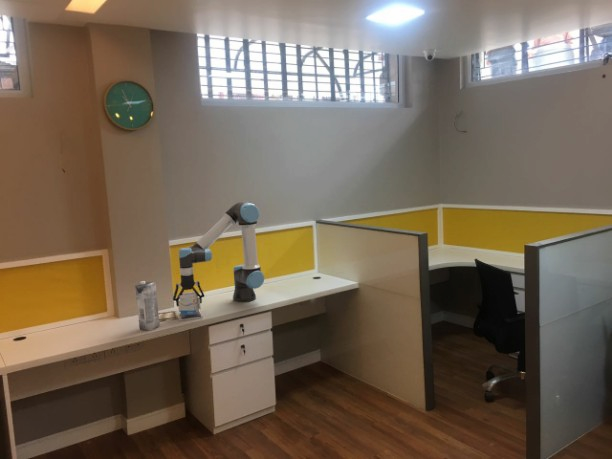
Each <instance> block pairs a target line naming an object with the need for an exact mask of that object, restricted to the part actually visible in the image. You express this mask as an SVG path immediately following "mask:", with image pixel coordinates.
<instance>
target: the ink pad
mask: <svg viewBox="0 0 612 459" xmlns="http://www.w3.org/2000/svg"><path fill="white" fill-rule="evenodd" d="M177 314H178V317H179V319H178V320H180V322H183V321H191V319H192V320H197V318H199V319H203V314H202V313H201V311H200V310H199V311H198V312H196V313H195V314H194V315H184V314H181V312H179V313H177Z"/></svg>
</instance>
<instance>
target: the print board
mask: <svg viewBox="0 0 612 459" xmlns="http://www.w3.org/2000/svg"><path fill="white" fill-rule="evenodd" d="M158 313H159V323H161V322H168V321H175V320H180V319H179V316H178V314H179V313H178V312H177V311H176V310H173V311H172V310H171V311H165V312H158Z"/></svg>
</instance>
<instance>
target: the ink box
mask: <svg viewBox="0 0 612 459" xmlns="http://www.w3.org/2000/svg"><path fill="white" fill-rule="evenodd" d="M178 295H179V294H178ZM179 297H180V299H179V301H180V311H181V312H180V313H181V314H184V315H194V314H195V313H196V312H198V311H200V309H199V305H198V298H199V296H198V295H197V294H196V293H195V292H194V291H187V292H186V291H184V292H183V293H182V295H179Z"/></svg>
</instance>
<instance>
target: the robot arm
mask: <svg viewBox="0 0 612 459" xmlns="http://www.w3.org/2000/svg"><path fill="white" fill-rule="evenodd" d="M259 217H260V210H259V207H258V206H256V205H255V204H254V203H251V202H242V201H241V202H236V203H234V204H233V205H232V206H230V208H228V209H227V211H225V212H224V213H223V216H222V217H221V218H220V219H219V220H218V221H217V222H216V223H215V224H214V225H213V226H212V227H210V229H209V230H208V231H207V232H206V233H204V234H203V236H202V237H201V238H199V239H198V240H197V241H196V243H194V244H193V245H192V246H189V247H183V248H179V250H178V262H179V271H180V283H176V284H175V289H174V293H173V297H172V301H174V302H175V304H176V307H178V312H179V313H181V311H180V297H179V295H182V294H183V293H185V291H188V290H189V291H190V290H192V292H195V293H196V294H197V295H198V305H199V310H201V304H202V303H203V298H205V294H204V292H203V289H202V287H201V285H200V281H199V280H198V281H195V277H194V265H193V264H197V263H205V262H211V261H212V259H213V254H212V253H213V252H212V251H211V249H210V247H211V245H213V244H214V243H215V242H216V241H217V240H218V239H219V238H220V237H222V235H223V234H224V233H225V232H226V231H228V229H230V227H231V226H234V225H236V224H237V223H238V227H240V229H241V230H240V231H241V240H242V252H243V261H244V262H243V263H244V264H239V265H235V266H234V267H233V280H234V281H233V282H234V290H233V293H232V294H233V295H232V301H233V302H235V303H248V302H252V301H255V300H256V299H257V295H256V292H255V290H256V289H259V288H260V287H261V286H262V285H263V284H264V281H265V274H264V273H263V272H262V269H261V268H262V267H261V265H260V264H259V262H258V261H259V260H258V250H257V248H258V247H257V237H256V234H257V233H256V226H257V225H258V219H259ZM195 285H196V286H197V287H198V290H199V291H200V293H199V291H198V290H197V289H196V288H195ZM180 287H181V290H180V291H179V288H180ZM178 291H179V293H178Z"/></svg>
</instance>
